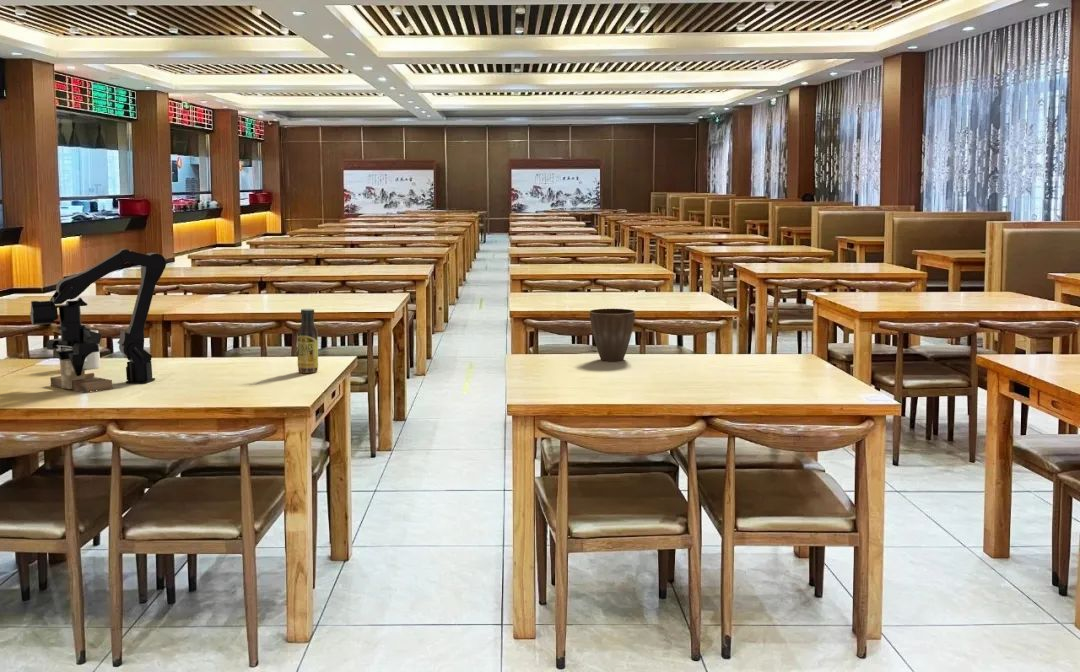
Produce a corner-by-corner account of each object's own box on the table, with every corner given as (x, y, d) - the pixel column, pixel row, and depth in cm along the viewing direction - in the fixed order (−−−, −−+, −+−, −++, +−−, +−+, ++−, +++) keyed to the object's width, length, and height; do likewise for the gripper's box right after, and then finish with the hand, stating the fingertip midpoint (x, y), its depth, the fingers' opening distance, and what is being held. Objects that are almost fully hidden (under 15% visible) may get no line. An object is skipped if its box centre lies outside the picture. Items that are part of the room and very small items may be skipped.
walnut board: (112, 388, 318) (111, 379, 317) (86, 392, 311) (86, 383, 311) (76, 381, 330) (75, 373, 329) (50, 385, 324) (50, 377, 323)
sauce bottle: (294, 373, 338) (291, 310, 335) (303, 370, 344) (300, 307, 341) (314, 374, 336) (311, 310, 334) (322, 370, 342) (320, 308, 340)
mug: (83, 366, 359) (81, 330, 357) (104, 365, 359) (101, 329, 357) (70, 371, 349) (68, 334, 347) (91, 371, 349) (89, 334, 347)
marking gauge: (97, 384, 321) (95, 357, 320) (69, 388, 315) (67, 361, 313) (90, 382, 324) (88, 356, 323) (61, 387, 317) (59, 360, 316)
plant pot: (636, 356, 362) (636, 308, 360) (634, 363, 347) (633, 313, 345) (592, 355, 364) (591, 308, 362) (587, 363, 349) (587, 313, 347)
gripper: (113, 321, 316) (117, 373, 318) (79, 317, 328) (83, 368, 330) (77, 325, 308) (82, 379, 310) (43, 321, 319) (48, 373, 321)
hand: (74, 375), depth 318 cm, fingers closed on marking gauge, 4 cm apart
